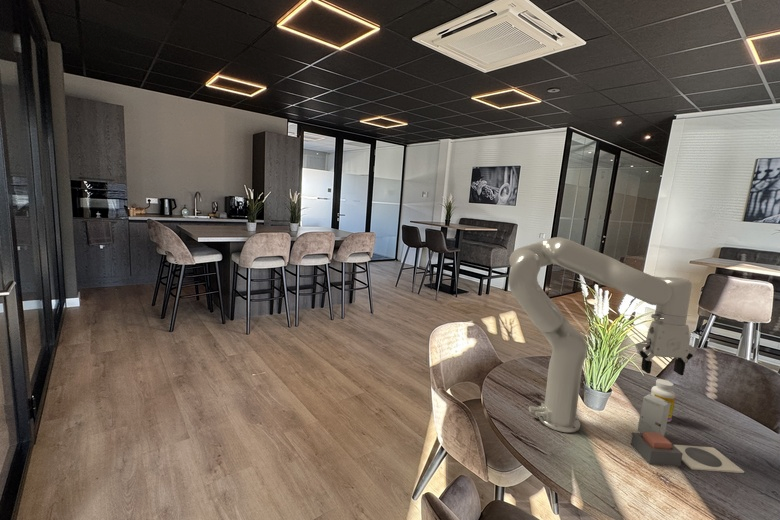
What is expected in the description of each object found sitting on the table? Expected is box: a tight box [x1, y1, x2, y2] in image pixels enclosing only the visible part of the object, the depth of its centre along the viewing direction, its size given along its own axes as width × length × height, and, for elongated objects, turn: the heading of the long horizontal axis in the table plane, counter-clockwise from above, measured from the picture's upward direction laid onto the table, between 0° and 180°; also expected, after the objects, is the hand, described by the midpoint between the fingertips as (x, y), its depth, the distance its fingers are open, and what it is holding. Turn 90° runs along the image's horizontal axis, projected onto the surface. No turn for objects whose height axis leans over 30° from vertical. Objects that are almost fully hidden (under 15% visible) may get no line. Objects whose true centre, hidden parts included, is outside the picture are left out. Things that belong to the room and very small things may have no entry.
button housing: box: [630, 432, 683, 467], centre depth 103 cm, size 8×8×4 cm
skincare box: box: [636, 393, 671, 437], centre depth 112 cm, size 6×4×12 cm
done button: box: [642, 432, 673, 449], centre depth 103 cm, size 5×5×3 cm
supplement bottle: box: [650, 378, 676, 423], centre depth 123 cm, size 7×7×13 cm
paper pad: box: [673, 444, 745, 474], centre depth 103 cm, size 14×10×1 cm
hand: (661, 372), depth 110 cm, fingers open, 9 cm apart
